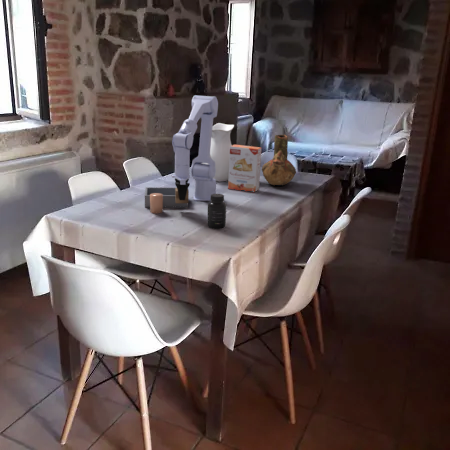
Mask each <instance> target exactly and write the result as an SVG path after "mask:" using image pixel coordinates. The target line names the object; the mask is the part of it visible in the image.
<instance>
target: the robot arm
mask: <svg viewBox="0 0 450 450" xmlns="http://www.w3.org/2000/svg"><path fill="white" fill-rule="evenodd" d="M217 98H218V97H217V96H215V95H214V96H209V95H207V96H206V95H196V94H195V95H193V97H192V99H191V111H190V113H189V114H190V115H189V116H188V118H187V119H185V120H184V121H183V122H182V125H181V127H180V129H179V130H178V132H177V133H174V134H173V136H172V141H171V144H172V147H173V153H174V174H172V175H171V178H174V181H175V183H174V184H175V188H177V189H178V194H179V199H180V200H185V198H186V193H187V189H188V190H189V187H190V182H189V181H190V178H191V176H192V179H194V194H192V198H193V201H196V202H197V201H201V202H203V201H205V202H206V201H207V202H210V201H211V200H210V199H211V195H212V194H217V181H216V180H215V179H213V178H214V176H215V173H216V168H215V161H214V160H213V159H212V158H211V157H210V148H211V137H212V127H213V126H214V125H213V124H214V118H217V116H218V109H219V101H218V99H217ZM199 120H201V123H200V134H199V136H200V137H199V146H198V155H197V156H196V157H194V158H193V159H192V163H190V162H191V160H190V155H191V152H190V151H191V148H192V146H193V143H194V137H195V136H194V135H195V134H196V132H197V129H198V124H197V123H198V121H199ZM202 163H208V164H202ZM190 164H191V167H190ZM190 174H191V175H190Z"/></svg>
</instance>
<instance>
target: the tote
mask: <svg viewBox="0 0 450 450" xmlns="http://www.w3.org/2000/svg"><path fill="white" fill-rule="evenodd" d="M175 188H176V187H160V186H158V187H155V186H154V187H151V186H150V187H149V186H147V187H146V186H145V188H144V189H145V190H144V208H150V194H152V193H161V194H163V209H164V208H174V209H175V208H179V209H180V208H188V207H189V202H188V203H176V201H175Z"/></svg>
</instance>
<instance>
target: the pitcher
mask: <svg viewBox="0 0 450 450" xmlns="http://www.w3.org/2000/svg"><path fill="white" fill-rule="evenodd" d="M234 128H235V124H225V123H221V122H218V123H217V122H216V124H214V125H213V127H212V137H211V148H210V157H211V158H212V159H213V160H214V161H215V168H216V173H215V176H214V178H213V179H215V180H216V182H227V181H228V179H229V158H230V146H232V145H233V144H232V141H231V133H232V130H233V129H234ZM201 164H208V163H201Z"/></svg>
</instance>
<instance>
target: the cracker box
mask: <svg viewBox="0 0 450 450" xmlns="http://www.w3.org/2000/svg"><path fill="white" fill-rule="evenodd" d="M261 161H262V147H258V146H253V145H251V146H250V145H243V144H232V146H230V158H229V179H228V180H227V181H228V182H227V183H228V184H227V185H228V187H227V189H228V190H234V189H235V191H241V190H245V191H244V192H247V191H254V192H255V191H257V190H258V191H259V189H260V177H261V163H262V162H261ZM258 191H257V192H258ZM254 192H253V193H254ZM255 193H256V192H255Z"/></svg>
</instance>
